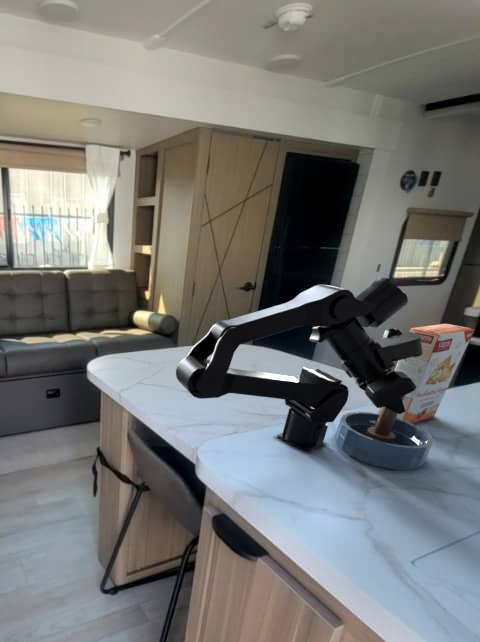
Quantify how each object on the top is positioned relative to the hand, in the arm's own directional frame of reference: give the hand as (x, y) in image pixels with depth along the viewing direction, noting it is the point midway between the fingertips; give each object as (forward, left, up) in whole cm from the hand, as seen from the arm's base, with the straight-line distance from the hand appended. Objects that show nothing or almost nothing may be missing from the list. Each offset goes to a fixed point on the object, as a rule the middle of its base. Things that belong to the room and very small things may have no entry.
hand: (399, 409), depth 75 cm
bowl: (-1, -1, -9) cm, 9 cm away
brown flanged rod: (-1, -1, -7) cm, 7 cm away
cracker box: (-5, +21, -9) cm, 23 cm away
